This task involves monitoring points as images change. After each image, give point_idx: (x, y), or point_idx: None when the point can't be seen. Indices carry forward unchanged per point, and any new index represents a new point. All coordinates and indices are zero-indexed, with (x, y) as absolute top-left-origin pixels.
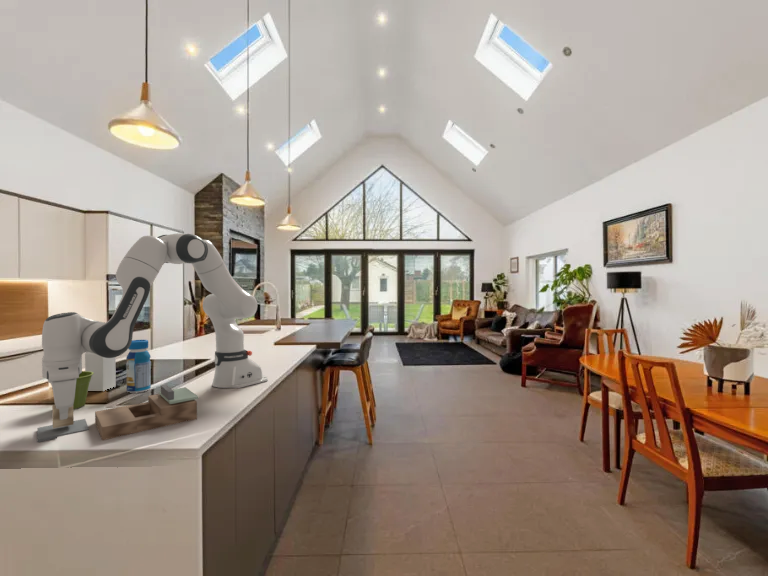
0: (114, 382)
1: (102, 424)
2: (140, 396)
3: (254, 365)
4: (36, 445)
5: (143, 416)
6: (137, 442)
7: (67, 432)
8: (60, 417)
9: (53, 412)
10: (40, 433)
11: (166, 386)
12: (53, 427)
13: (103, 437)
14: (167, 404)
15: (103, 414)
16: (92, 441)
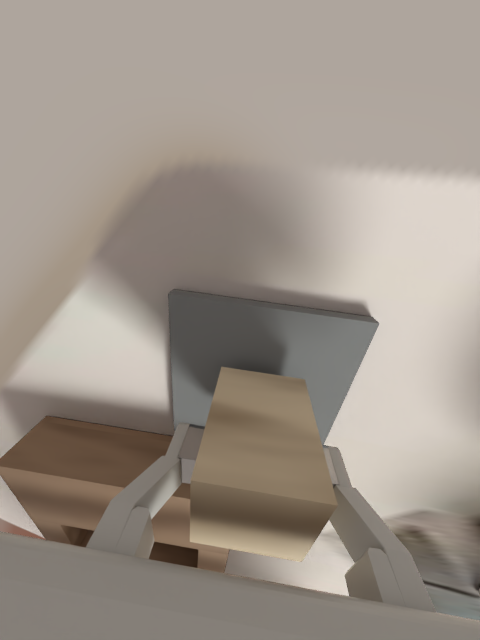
0: None
1: (29, 473)
2: (437, 569)
3: None
4: (133, 279)
5: (62, 534)
6: (5, 452)
7: (181, 385)
8: (176, 434)
9: (199, 450)
10: (258, 317)
11: None
12: (221, 370)
13: (33, 430)
14: None
15: (166, 506)
16: (67, 403)
